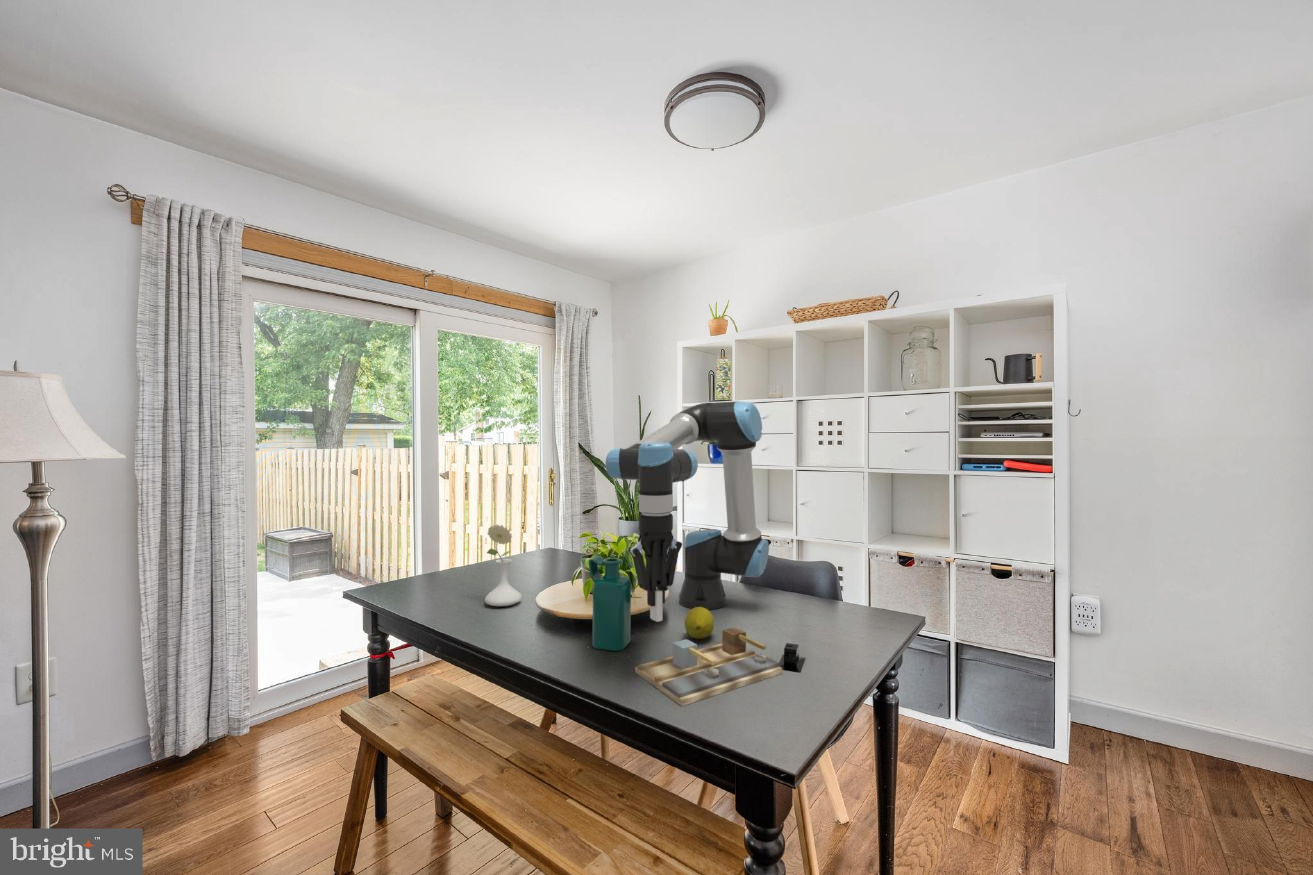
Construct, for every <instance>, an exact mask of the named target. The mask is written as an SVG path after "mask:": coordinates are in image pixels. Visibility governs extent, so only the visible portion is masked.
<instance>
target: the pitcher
mask: <svg viewBox="0 0 1313 875" xmlns="http://www.w3.org/2000/svg"><path fill="white" fill-rule="evenodd" d="M623 562H624V561H623V560H622V559H620V558H616V557H615V558H614V557H611V558H609V557H608V558H604V559H603V557H602V556H600V555H596V556H593V557H591V559H589V560H588V570H589V576H590V579H591V580H592V582H593V585H592V647H593V648H594V649H598V650H603V651H611V652H613V651H614V652H620V651H623V650H625V648H626V647H627V645H629V643H630V642H631V631H632V630H631V628H632V627H631V624H632V623H631V621H632V620H631V619H632V618H631V617H632V616H631V615H632V614H631V612H632V611H631V610H632V609H631V608H632V605H631V604H632V599H631V598H632V596H631V595H632V594H631V593H632V592H631V591H632V588H631V587H632V583H631V579H630V578H629V577H628V576H625V575H621V574H620V564H622V563H623ZM598 566H601V567H604V568H605V569H604V574H603V575H602V574H601V573H600V571H599V567H598Z"/></svg>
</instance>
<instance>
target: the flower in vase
mask: <svg viewBox="0 0 1313 875" xmlns="http://www.w3.org/2000/svg"><path fill="white" fill-rule="evenodd" d="M487 536H489V538H490V539H491V540H492V541H493V542H494V543H495V544H496V546H495V549H493V548H489V549H488V550H487V552H486V554H489V555H492V556H497V555H498V557H499V559H496V560H495V563H496V564H497V567H498V570H499V581H498V584H497V585H496V587H494V588H493V589H492V590H491V591H490V592H489V593H488V594H487V595H486V596H485V598H484V602H485V604H486V605H488V606H489V605H490V606H493V607H508V606H512V605H515V604H517V603H519V602H521V600H522V598H523V596H522V594H521V593H520V592H519V591H518V590H516V589H515V588H514V587H513V586H511V585H510V583H509V582H508V572H509V571H508V570H509V566H510V563H512V561H513V560H512V559H510V558H502V557H505V556H506V555H508V554H509V553H510V552H511V550H512V549H510V550H507V551H505V552H504V553H503V554H501V555H500V553H499V551H498V545H505V544H508V543H511V540H512V538H513V536H512V533H511V530H510V529H508V527H504V525H502V524H501V525H499V524H493V525H491V526H489V527H488V530H487Z"/></svg>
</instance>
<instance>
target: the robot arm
mask: <svg viewBox="0 0 1313 875" xmlns="http://www.w3.org/2000/svg"><path fill="white" fill-rule="evenodd" d="M760 414H761V413H760V412H759V409H758V407H757V406H756V405H755V404H754V403H753V402H749V401H739V400H738V401H737V400H736V401H720V402H717V401H716V402H702V403H699V404H696V405H693V406H690V407H688V408H686V409H684V410H682V411H680V412H678V413H676V414H675V415H673V416H672V418H671V419H670V421H669V422H668V423H667V424H665V425H663V426H662V427H660V428H658V429H657V430H655V431H654V432H652V433H650V434H648V435H647V436H645V437H644V438H643V439H641V440H639V441H637V442H635V443H634V444H632V445H631V446H629V447H627V448H622V447H621V448H620V447H619V448H613V449H611V450H609V452H608V453H607V455H606V457H605V462H604V464H605V471H606V473H607V474H608V476H609V477H610V478H612V479H619V480H622V481H623V480H629V481H634V480H635V481H638V512H640V513H639V515H638V531H639V536H638V538H637V543H636V544H635V545H634V546H629V547H628V552H629V554H630V555H631V557H632V559H633V565H634V568H635V574H636V578H637V579H636V580H637V583H638V586H639V588H640V589H642V590H643V591H646V592H647V593H646V594H647V596H646V598H647V599H646V600H647V603H646V604H647V605H648V606H649V609H650V610H649V611H650V612H649V618H650V619H651V620H652V621H654V622H656V623H657V622H662V621H663V617H664V616H663V605H665V604H666V603H665V602H666V592H667V591H668V590H669V587H671V586H673V584H674V580H675V575H676V569H677V568H676V567H677V563H678V558H679V553H680V551H681V549H682V547H683V543H682V542H681V541H680V540H679V541H678V540H677V539H675V538H674V534H673V532H672V531H673V529H674V516H673V514H672V512H673V511H674V498H673V497H674V494H673V493H674V492H673V485H674V484H675V483H679V482H685V481H687V480H690V479H692V478H693V477H694V476H695V475H696V473H697V470H698V467H699V465H698V464H699V463H698V459H697V456H695V454H694V453H693V452H692V451H690V450H688V449H683V448H682V449H680V448H681V447H683V446H684V445H690V444H692V443H694V442H700V441H703V442H704V441H705V442H709V441H710V442H716V449H717V450H718V451H719V452H720V453H722V468H723V479H724V495H725V507H726V508H725V509H726V523H727V529H726V530H725V531H723V533H722V531H721V529H718V528H717V529H714V528H713V529H701V530H695V531H691V532H688V533H687V534H686V535H685V538H684V579H683V583H682V586H681V589H680V592H679V595H678V603H679V604H680V605H681V606H682V607H686V608H689V609H693V608H695V607H703V608H705V609H707V610H708V611H709V610H717V609H720V608H723V607H725V606H726V605H727V594H726V593H725V592H726V591H725V589H724V585H723V582H722V574H728V575H733V576H739V577H740V576H741V577H745V578H748V577H751V578H759V577H761V575H762V574H764V571H765V570H766V566H767V564H768V559H769V555H770V554H769V552H770V544H769V541H768V540H767V539H765V538H762V531H761V530H760V529H759V527H757V523H756V507H755V506H756V505H755V493H754V491H755V490H754V489H755V488H754V474H753V472H754V471H753V459H752V458H753V457H752V452H753V450H754V449H755V448H756V447H757V442H759V441H760V440H761V439H762V436H763V432H762V431H763V422H762V418H761V415H760ZM673 483H674V484H673ZM643 552H644V556H643ZM644 559H645V560H644Z"/></svg>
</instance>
